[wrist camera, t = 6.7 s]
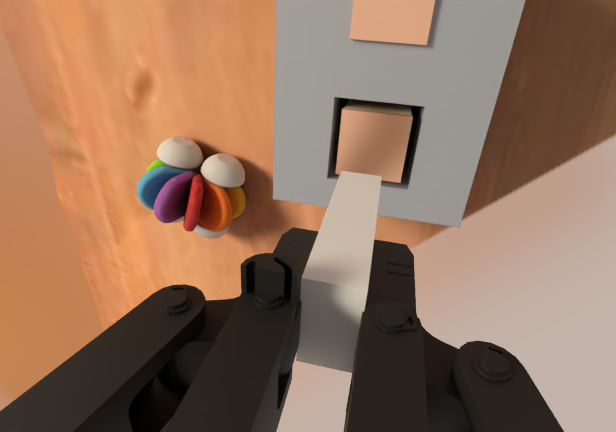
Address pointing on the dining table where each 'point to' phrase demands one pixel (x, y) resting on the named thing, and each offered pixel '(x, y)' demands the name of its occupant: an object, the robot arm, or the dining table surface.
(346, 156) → the peg
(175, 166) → the rainbow disc toy
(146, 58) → the dining table surface
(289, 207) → the dining table surface
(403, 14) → the socket block
